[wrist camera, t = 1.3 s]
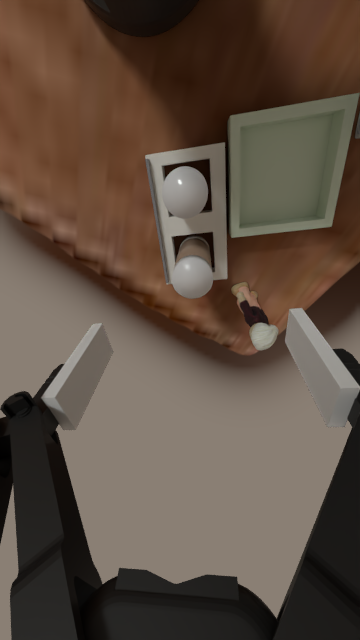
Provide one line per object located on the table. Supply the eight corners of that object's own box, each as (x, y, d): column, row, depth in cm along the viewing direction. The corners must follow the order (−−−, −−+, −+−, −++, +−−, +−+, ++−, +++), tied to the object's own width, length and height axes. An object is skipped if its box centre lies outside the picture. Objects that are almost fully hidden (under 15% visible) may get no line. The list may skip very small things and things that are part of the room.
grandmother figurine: (220, 291, 37) (228, 339, 26) (236, 273, 35) (252, 316, 24) (255, 315, 39) (277, 369, 28) (272, 299, 37) (302, 350, 26)
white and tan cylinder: (177, 237, 33) (169, 262, 24) (208, 233, 32) (212, 257, 23) (181, 266, 35) (174, 299, 26) (210, 263, 35) (214, 296, 25)
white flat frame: (148, 156, 28) (144, 154, 26) (223, 144, 27) (225, 141, 25) (168, 279, 36) (166, 285, 34) (226, 273, 35) (227, 280, 33)
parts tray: (227, 121, 26) (230, 115, 23) (343, 101, 24) (359, 92, 22) (228, 232, 32) (231, 237, 30) (320, 222, 31) (331, 226, 28)
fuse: (169, 171, 29) (158, 170, 21) (204, 165, 28) (206, 162, 21) (174, 209, 31) (165, 221, 23) (206, 205, 30) (209, 215, 23)
